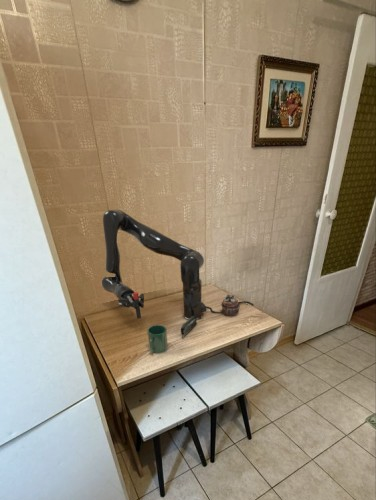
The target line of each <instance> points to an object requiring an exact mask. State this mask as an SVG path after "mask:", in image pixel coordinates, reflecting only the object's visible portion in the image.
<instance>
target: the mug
mask: <svg viewBox="0 0 376 500" xmlns="http://www.w3.org/2000/svg"><path fill="white" fill-rule="evenodd" d="M167 331H168V330H167V327H166V326H164V325H162V324H153V325H151V326H148V328H147V337H148V338H147V340H148V347H149V351H150V353H151V354H152V353H154V354H162V353H165V352H167V350H168V348H169V347H168V332H167Z"/></svg>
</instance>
